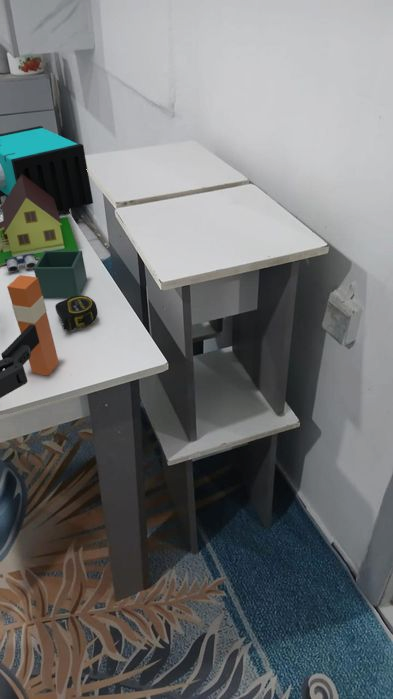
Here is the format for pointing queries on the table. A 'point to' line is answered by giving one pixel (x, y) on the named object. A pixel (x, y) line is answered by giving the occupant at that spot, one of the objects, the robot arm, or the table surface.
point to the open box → (61, 274)
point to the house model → (32, 223)
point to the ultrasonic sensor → (14, 261)
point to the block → (34, 322)
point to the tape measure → (76, 312)
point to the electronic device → (45, 166)
